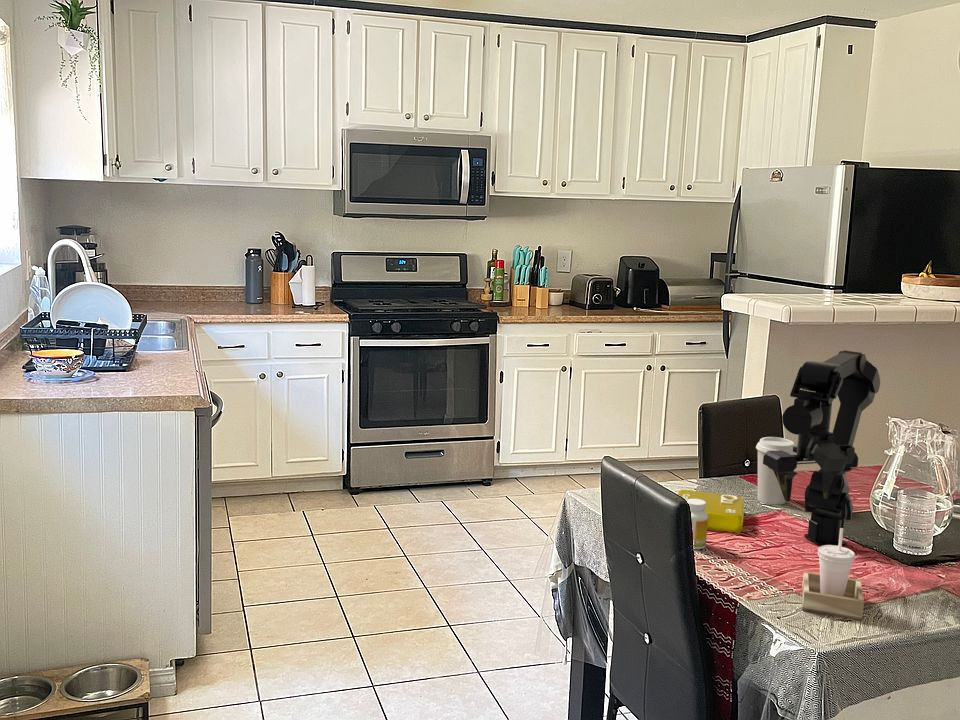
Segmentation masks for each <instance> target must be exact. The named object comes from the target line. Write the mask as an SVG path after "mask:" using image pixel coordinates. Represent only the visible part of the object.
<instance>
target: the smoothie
mask: <svg viewBox="0 0 960 720" xmlns="http://www.w3.org/2000/svg"><path fill="white" fill-rule="evenodd" d="M843 537H844V528H840V535H839V544H838V546H836V545H824V546H819V547H818V549H817V553H816V554H817V555H818V556H819V557H818V558H819V574H820V593H822V594H829V595H835V596H841V597H844V593H845V589H846V585H847V581H848V578H849V577H850V573H851V569H852V565H853V562H855V560H856V553H855V552H854V551H853V550H851V549H850V548H847V547H844V546H843V545H842V540H843Z"/></svg>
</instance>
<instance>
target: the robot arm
mask: <svg viewBox="0 0 960 720" xmlns="http://www.w3.org/2000/svg"><path fill="white" fill-rule="evenodd" d="M880 387H881V377H880V373H879V370H878V368H877V367H876V366H875V365H873V364H872V363H871V361H869V360H868V358H867V356H866V353H863V352H859V351H852V350H846V349H845V350H844V349H843V350H839V351H838V353H837V354H836V355H833V356H832V357H830V358H828V359H826V360H824V361H813V360H812V361H805V362H804V363H803V364H802V366H800V367H799V369H798V371H797V374H796V377H795V379H794V383H793V385H792V388H791V391H790V394H789V397H791V398H794V399H793V400H794V401H793V404H792V405H790V406H788V407H787V408H786V409H785V410H784V411H783V414H782V415H781V417H782V418H781V420H782V421H781V422H782V425H783V426H784V429H786V431H788V432H789V433H790V434H793V435H797V436H798V437H797V445H796V446H795V447H793V452H795V453H796V454H795V455H791V454H789V453H787V452H784V451H782V450H777V451H767V452H766V453H765V454H764V456H763V464H764V465H766V466H768V468H770V469H772V470H773V472H774V474H775V476H776V478H777V480H778V483H779V485H780V488H781V491H782V494H783V497H784V499H785V502H787V503H789V502H791V501H790V500H791V496H792V490H793V489H792V487H793V479H794V478H795V477H796V476H797V474H798V472H796V471H795V470H796V469H797V468H798V465H811V464H812V465H813V464H818V465H817V466H819V467H820V469H818V471H817V470H814V471H813V473H812V474H811V476H810V481H809V484H807V486H806V488H805V491H804V512H805V513H810V514H811V515H810V519H809V520H808V529H807V533H804V538H806V539H807V540H809V541H811V542H812V543H814V544H816V545H818V546H819V547H820V546H824V545H836V546H838V544H839V535H840V528H843V529H844V526H845V522H846V521H851V520H852V519H853V518H852V517H853V516H852V515H853V509H854V506H853V502H852V500H851V499H852V498H851V495H850V494H849V493H850V486H849V482H848V480H847V476H846V473H848V472H851V471H852V470H853V468H858V465H859V460H860V459H859V457H858V454H857V453H856V452H855V449H856V448H855V447H854V443H855V439H856V436H857V435H856V434H857V431H858V427H859V424H860V420H861V417H862V413H863V411H864V410H865V409H867V407H869V406H870V405H871V404H872V403H873V402H874V399H875V395H876V394H878V392H879V390H880ZM837 398H838V401H839V403H840V405H839V408H838V412H837V415H836V418H835V422H834V425H833V429H832V432H831V431H830V429H831V428H830V427H831V418H832V407H833V402H834V400H836V399H837ZM847 545H848V542H847V541H845V540H843V539H842V546H847Z"/></svg>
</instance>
